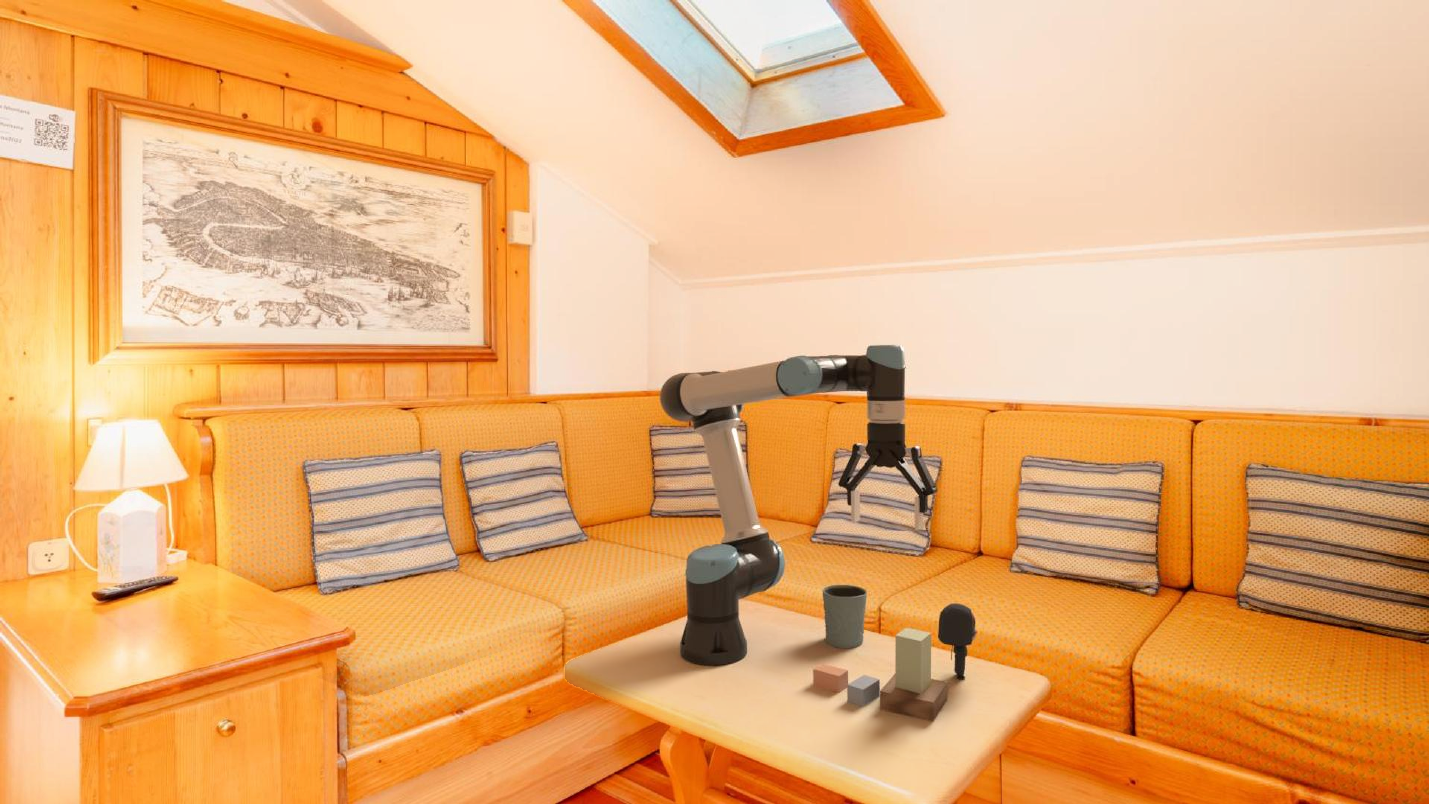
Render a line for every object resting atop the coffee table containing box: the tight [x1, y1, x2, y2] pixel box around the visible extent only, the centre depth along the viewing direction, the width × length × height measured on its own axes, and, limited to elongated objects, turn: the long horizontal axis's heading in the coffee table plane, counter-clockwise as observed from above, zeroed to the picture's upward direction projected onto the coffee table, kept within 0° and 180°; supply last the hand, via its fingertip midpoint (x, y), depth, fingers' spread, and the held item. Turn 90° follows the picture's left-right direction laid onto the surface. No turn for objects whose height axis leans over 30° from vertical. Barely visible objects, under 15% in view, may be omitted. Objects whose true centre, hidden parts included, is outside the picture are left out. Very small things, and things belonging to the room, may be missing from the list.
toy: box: [937, 603, 978, 680], centre depth 160 cm, size 9×8×15 cm
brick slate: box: [846, 674, 881, 708], centre depth 151 cm, size 6×4×4 cm, turn 137°
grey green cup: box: [821, 584, 868, 649], centre depth 181 cm, size 10×10×12 cm
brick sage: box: [894, 627, 932, 694], centre depth 148 cm, size 5×5×10 cm
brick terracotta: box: [812, 663, 849, 693], centre depth 157 cm, size 6×4×4 cm, turn 52°
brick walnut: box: [879, 673, 948, 722], centre depth 148 cm, size 10×10×4 cm
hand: (886, 525), depth 159 cm, fingers open, 13 cm apart
